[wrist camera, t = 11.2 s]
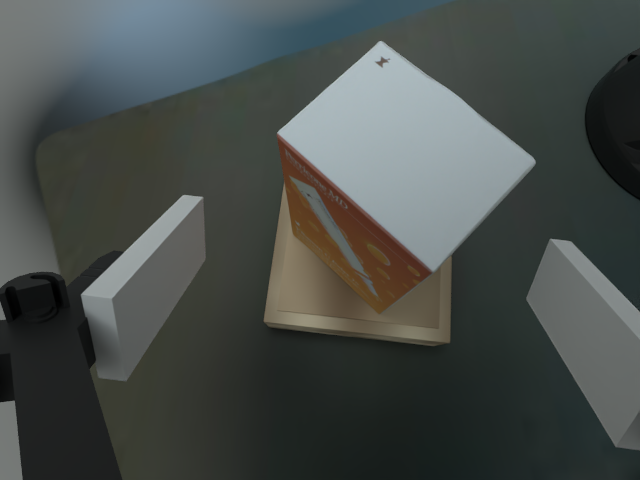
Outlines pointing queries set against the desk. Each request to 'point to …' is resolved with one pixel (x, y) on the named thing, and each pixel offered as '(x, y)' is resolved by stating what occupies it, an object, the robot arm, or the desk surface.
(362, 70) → the small box
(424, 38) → the desk surface
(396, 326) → the oak plinth
